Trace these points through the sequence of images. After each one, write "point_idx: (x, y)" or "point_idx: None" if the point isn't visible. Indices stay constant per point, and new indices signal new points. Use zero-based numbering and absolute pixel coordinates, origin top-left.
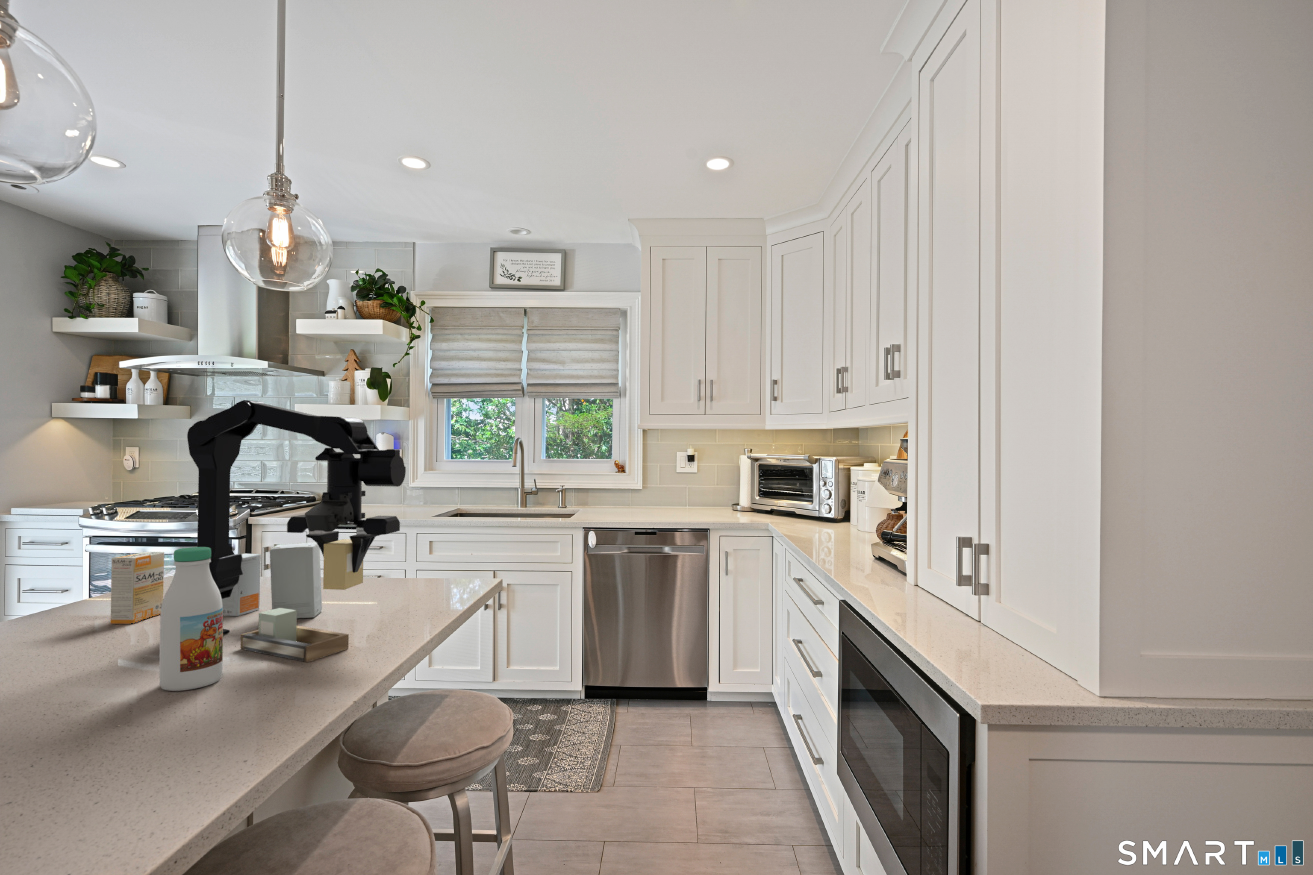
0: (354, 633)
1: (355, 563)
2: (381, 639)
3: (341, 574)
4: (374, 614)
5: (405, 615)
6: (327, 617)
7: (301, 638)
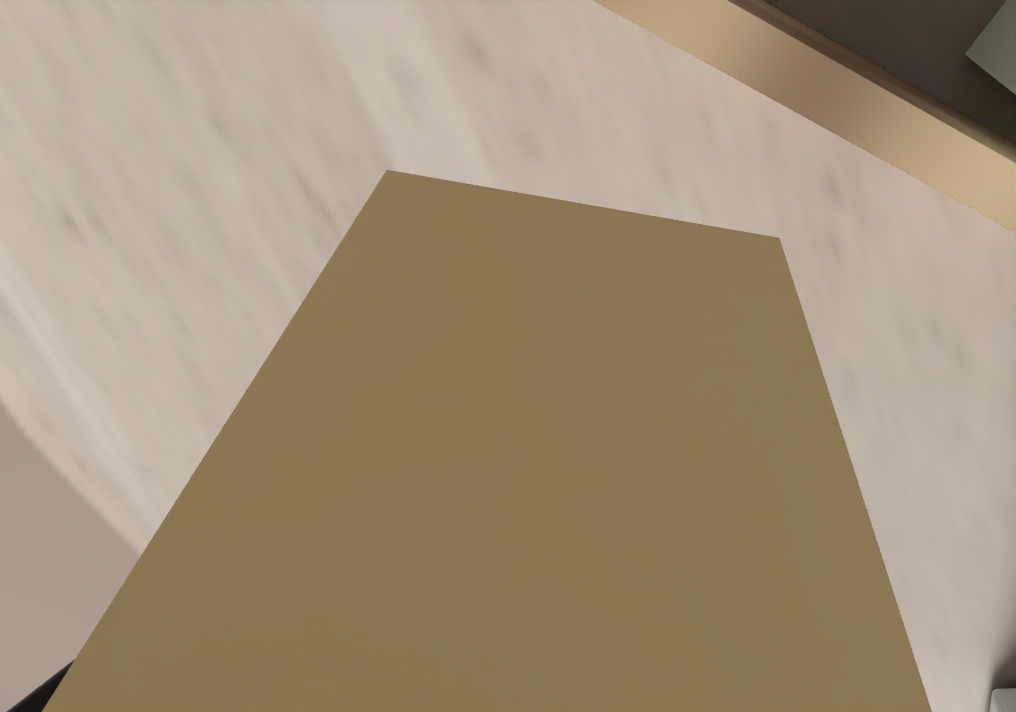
0: None
1: None
2: (264, 151)
3: (383, 310)
4: None
5: None
6: None
7: (937, 104)
